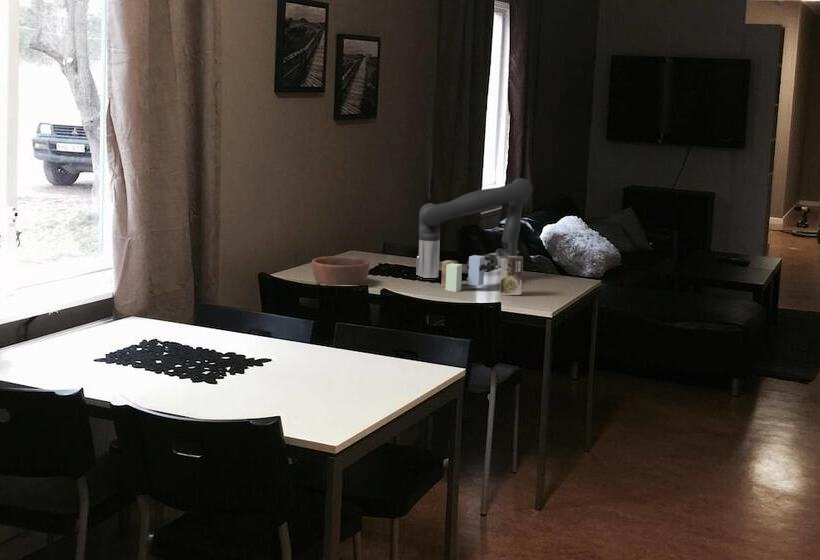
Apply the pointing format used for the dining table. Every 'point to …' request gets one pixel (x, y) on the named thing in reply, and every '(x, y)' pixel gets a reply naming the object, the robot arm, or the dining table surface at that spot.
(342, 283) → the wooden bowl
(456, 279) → the sage block
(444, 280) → the walnut block
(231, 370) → the dining table surface
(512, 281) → the coffee box
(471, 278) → the slate block
